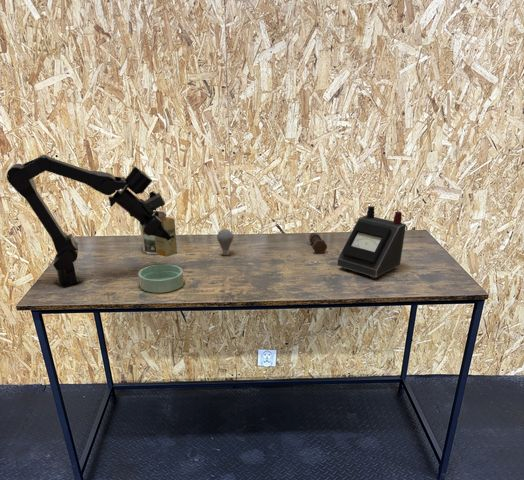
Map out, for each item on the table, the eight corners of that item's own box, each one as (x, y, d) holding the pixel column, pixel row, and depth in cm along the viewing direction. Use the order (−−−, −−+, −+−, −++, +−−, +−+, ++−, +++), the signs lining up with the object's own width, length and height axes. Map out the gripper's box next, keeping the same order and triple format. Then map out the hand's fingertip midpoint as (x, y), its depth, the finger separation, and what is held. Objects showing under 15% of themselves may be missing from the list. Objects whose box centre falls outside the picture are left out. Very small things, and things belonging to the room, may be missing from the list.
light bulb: (225, 251, 194) (224, 226, 189) (236, 254, 191) (236, 229, 186) (214, 255, 190) (213, 229, 185) (226, 258, 187) (225, 232, 182)
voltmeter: (336, 269, 178) (340, 213, 168) (361, 257, 188) (367, 204, 178) (374, 281, 168) (382, 223, 158) (399, 268, 179) (407, 213, 168)
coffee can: (174, 250, 195) (171, 214, 188) (151, 256, 189) (147, 219, 182) (160, 244, 202) (157, 209, 194) (138, 249, 196) (133, 214, 188)
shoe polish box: (177, 253, 172) (174, 218, 166) (166, 257, 169) (163, 222, 163) (167, 250, 175) (164, 216, 169) (156, 253, 171) (153, 219, 165)
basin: (131, 285, 166) (129, 272, 163) (166, 273, 175) (164, 261, 172) (157, 297, 157) (156, 284, 155) (192, 284, 166) (191, 271, 164)
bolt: (314, 245, 206) (321, 256, 193) (304, 239, 204) (310, 250, 191) (322, 233, 203) (329, 243, 190) (312, 227, 202) (318, 237, 189)
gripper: (150, 192, 151) (189, 225, 160) (146, 179, 167) (181, 210, 175) (127, 219, 153) (166, 251, 162) (125, 204, 169) (160, 234, 177)
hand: (169, 235), depth 169 cm, fingers closed on shoe polish box, 7 cm apart
